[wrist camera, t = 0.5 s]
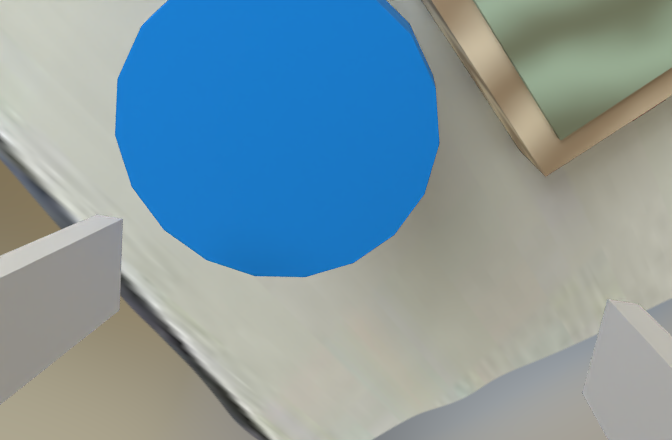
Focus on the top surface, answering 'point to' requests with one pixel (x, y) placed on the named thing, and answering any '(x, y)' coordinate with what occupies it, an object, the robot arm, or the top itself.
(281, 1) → the thermos
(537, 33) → the wooden box
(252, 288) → the top surface
